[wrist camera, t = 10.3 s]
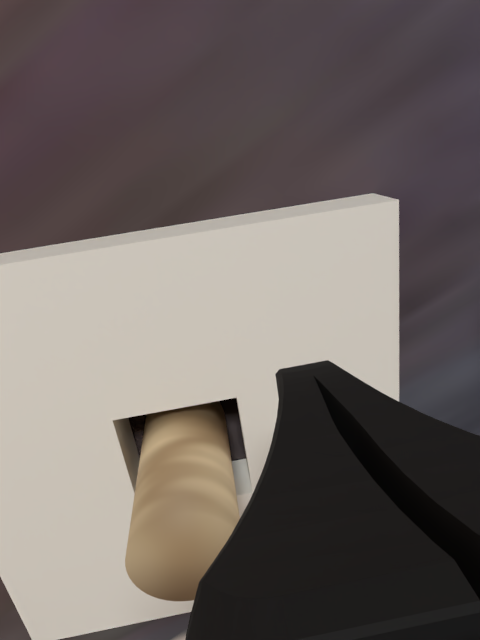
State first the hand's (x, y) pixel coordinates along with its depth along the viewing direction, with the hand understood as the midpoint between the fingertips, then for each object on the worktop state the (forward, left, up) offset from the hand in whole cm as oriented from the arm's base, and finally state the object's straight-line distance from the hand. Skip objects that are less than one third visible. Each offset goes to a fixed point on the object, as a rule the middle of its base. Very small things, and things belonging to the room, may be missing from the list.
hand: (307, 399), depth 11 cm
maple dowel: (+4, +7, -10) cm, 13 cm away
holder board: (+4, +7, -10) cm, 13 cm away
